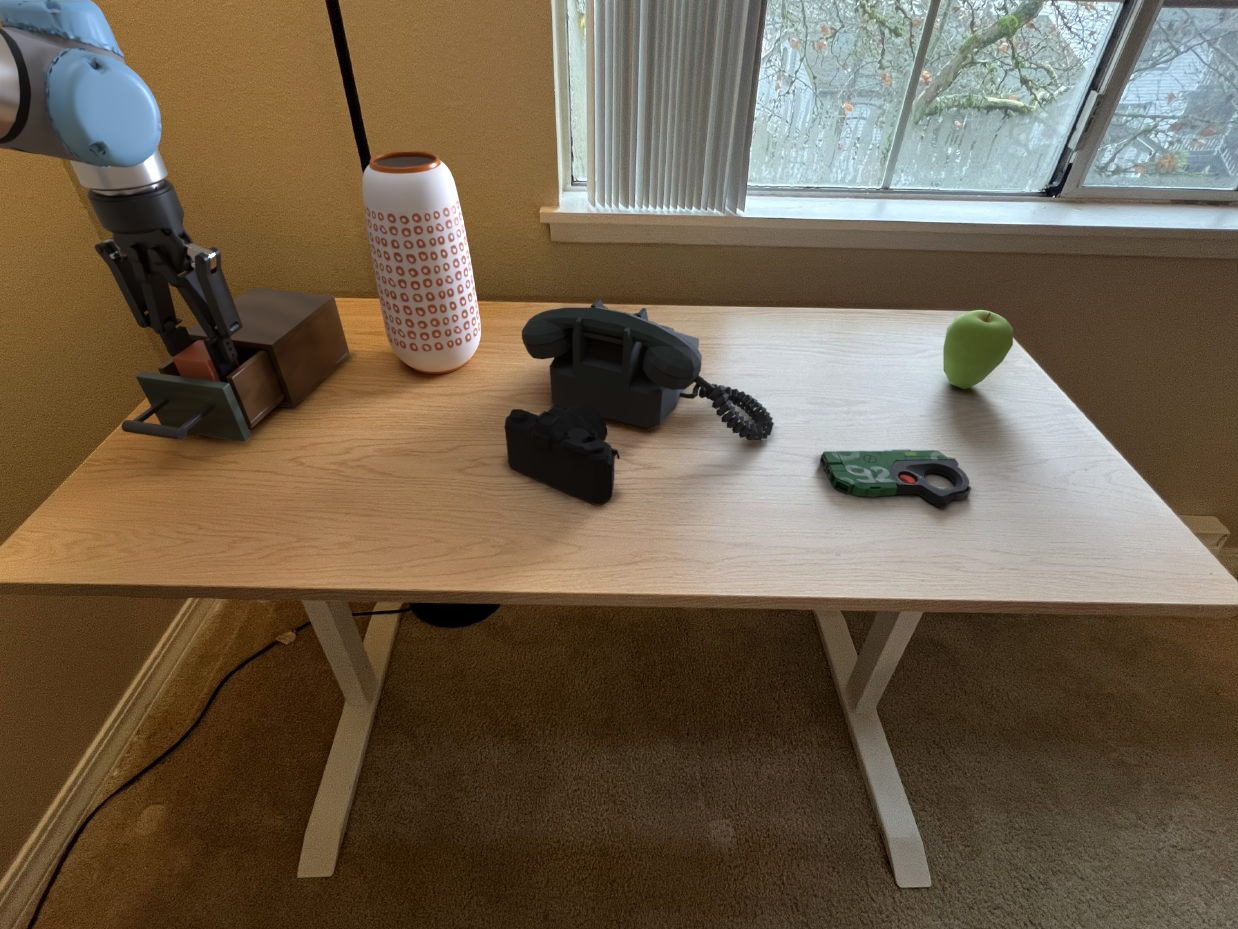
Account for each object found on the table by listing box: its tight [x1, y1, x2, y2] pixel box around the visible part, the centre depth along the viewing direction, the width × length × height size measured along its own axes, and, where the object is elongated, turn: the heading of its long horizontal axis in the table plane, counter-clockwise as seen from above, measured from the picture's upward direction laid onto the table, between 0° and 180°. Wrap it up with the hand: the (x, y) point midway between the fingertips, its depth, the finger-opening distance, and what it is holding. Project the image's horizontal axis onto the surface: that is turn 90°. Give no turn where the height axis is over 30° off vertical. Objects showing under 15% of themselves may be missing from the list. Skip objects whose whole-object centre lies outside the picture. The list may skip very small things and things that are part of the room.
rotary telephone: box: [521, 298, 775, 442], centre depth 86 cm, size 33×22×15 cm, turn 69°
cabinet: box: [187, 286, 351, 409], centre depth 89 cm, size 15×13×10 cm
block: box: [171, 340, 240, 382], centre depth 79 cm, size 4×4×4 cm
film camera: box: [503, 404, 621, 505], centre depth 75 cm, size 15×10×9 cm, turn 58°
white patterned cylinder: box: [361, 150, 482, 375], centre depth 88 cm, size 13×13×28 cm
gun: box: [819, 449, 972, 508], centre depth 77 cm, size 16×1×10 cm
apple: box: [942, 309, 1014, 390], centre depth 91 cm, size 9×8×12 cm
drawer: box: [120, 345, 285, 443], centre depth 80 cm, size 20×11×8 cm, turn 169°
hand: (214, 380), depth 80 cm, fingers closed on block, 4 cm apart
